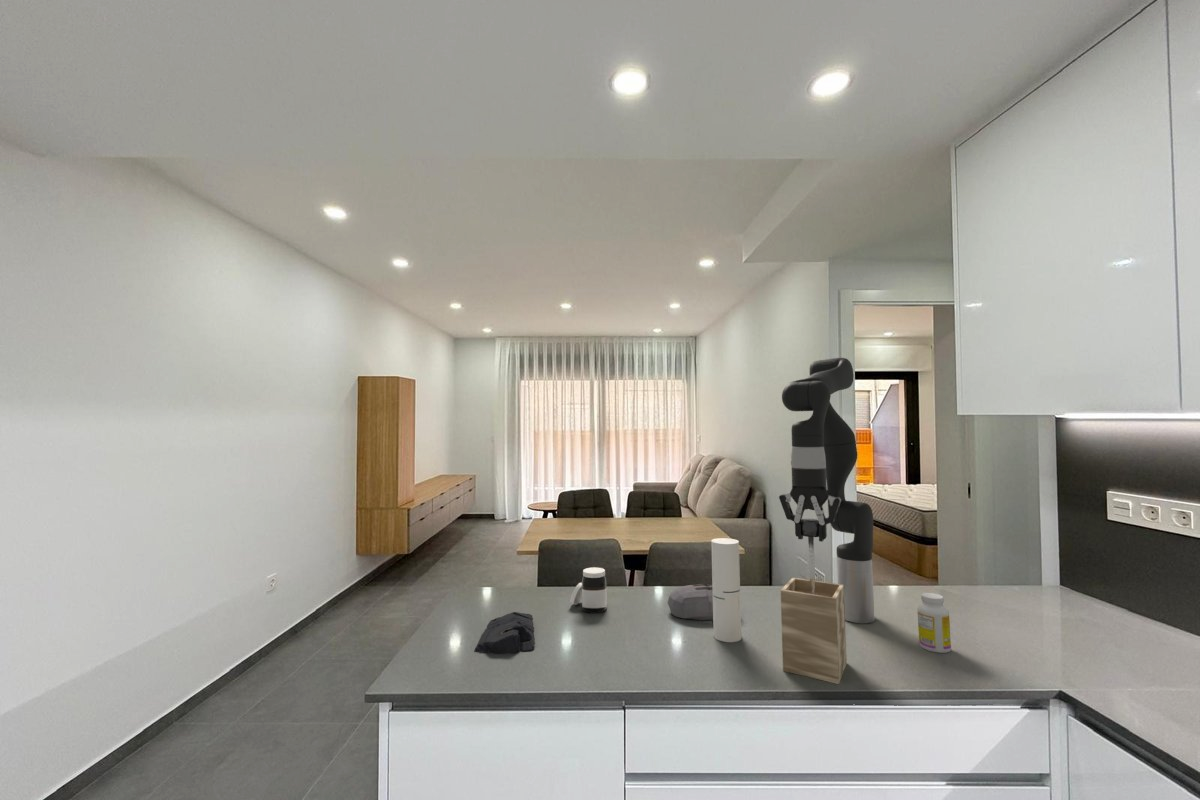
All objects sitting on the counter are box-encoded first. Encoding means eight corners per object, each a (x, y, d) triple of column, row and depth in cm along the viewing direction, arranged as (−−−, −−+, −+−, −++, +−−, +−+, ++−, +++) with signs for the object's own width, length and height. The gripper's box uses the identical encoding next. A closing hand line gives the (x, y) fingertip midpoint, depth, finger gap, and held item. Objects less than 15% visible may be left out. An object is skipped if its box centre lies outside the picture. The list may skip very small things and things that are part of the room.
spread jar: (606, 614, 153) (606, 574, 154) (569, 614, 153) (568, 575, 154) (606, 601, 165) (606, 564, 166) (571, 601, 165) (571, 564, 166)
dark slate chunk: (540, 621, 150) (540, 605, 150) (533, 655, 128) (533, 635, 128) (487, 623, 149) (487, 606, 149) (471, 657, 127) (471, 637, 127)
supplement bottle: (946, 644, 130) (944, 592, 130) (954, 655, 123) (952, 601, 124) (916, 641, 132) (913, 590, 132) (922, 652, 126) (920, 598, 126)
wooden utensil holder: (794, 651, 126) (792, 577, 127) (846, 663, 120) (843, 584, 121) (783, 670, 117) (780, 590, 118) (838, 684, 110) (835, 598, 111)
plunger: (798, 607, 125) (795, 515, 126) (837, 614, 120) (833, 518, 122) (789, 619, 118) (786, 521, 119) (830, 627, 113) (827, 525, 114)
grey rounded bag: (726, 603, 162) (663, 605, 161) (725, 577, 162) (662, 578, 161) (742, 622, 147) (672, 624, 145) (741, 592, 147) (672, 594, 146)
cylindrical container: (742, 643, 132) (739, 544, 133) (713, 641, 133) (711, 543, 135) (740, 632, 139) (738, 538, 140) (713, 630, 140) (711, 537, 142)
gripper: (844, 465, 120) (846, 540, 119) (781, 464, 128) (783, 533, 127) (838, 468, 114) (841, 546, 113) (773, 466, 122) (775, 539, 121)
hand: (810, 539), depth 120 cm, fingers closed on plunger, 4 cm apart
